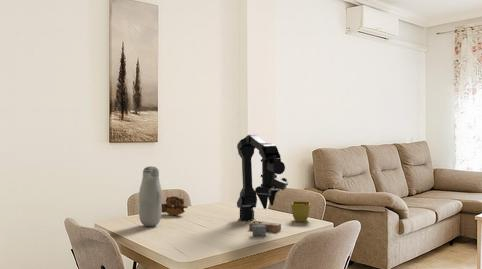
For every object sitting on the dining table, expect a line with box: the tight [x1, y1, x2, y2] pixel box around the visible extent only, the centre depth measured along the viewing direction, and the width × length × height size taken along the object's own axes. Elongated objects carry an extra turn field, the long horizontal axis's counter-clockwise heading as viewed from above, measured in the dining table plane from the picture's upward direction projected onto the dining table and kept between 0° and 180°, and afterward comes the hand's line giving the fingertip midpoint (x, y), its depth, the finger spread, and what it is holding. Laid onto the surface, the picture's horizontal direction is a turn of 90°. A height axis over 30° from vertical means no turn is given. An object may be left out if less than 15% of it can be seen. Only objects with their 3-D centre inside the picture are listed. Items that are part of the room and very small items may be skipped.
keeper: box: [252, 224, 267, 238], centre depth 175 cm, size 4×6×4 cm
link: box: [248, 220, 282, 233], centre depth 184 cm, size 13×5×3 cm, turn 67°
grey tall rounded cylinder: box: [138, 165, 163, 227], centre depth 192 cm, size 10×10×28 cm
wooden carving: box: [161, 195, 189, 216], centre depth 217 cm, size 16×5×10 cm, turn 72°
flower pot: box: [291, 200, 311, 223], centre depth 204 cm, size 9×9×9 cm
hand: (268, 207), depth 184 cm, fingers open, 9 cm apart
